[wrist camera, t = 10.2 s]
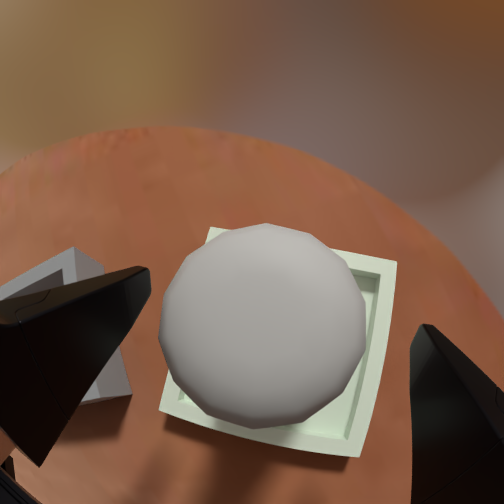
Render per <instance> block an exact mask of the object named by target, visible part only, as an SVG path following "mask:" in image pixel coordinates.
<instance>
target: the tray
mask: <svg viewBox="0 0 504 504" xmlns="http://www.w3.org/2000/svg"><path fill="white" fill-rule="evenodd" d="M225 231H230V230H227V229H221V228H215V227H210V230H209V233H208V237H207V240H206V243H207V242H209V241H210V240H212V239H213V238H215V237H216V236H218V235H219V234H221V233H222V232H225ZM206 243H205V244H206ZM329 249H330V248H329ZM331 250H332V251H333V252H335V253H336V254H337V255H339V256H340V257H341V258H343V259H344V260H345V261H346V263H347V265H348V267H349V269H350V271H351V273H352V275H353V277H354V279H355V281H356V283H357V285H358V287H359V289H360V291H361V294H362V296H363V298H364V300H365V302H366V350H365V352H364V354H363V356H362V358H361V360H360V362H359V364H358V366H357V368H356V370H355V372H354V374H353V375H352V377H351V379H350V381H349V383H348V385H347V386H346V388H345V390H344V392H343V393H342V394H341V395H340V396H338V397H337V398H336V399H334V400H333V401H332V402H330V403H329V404H328V405H326V406H325V407H324V408H322V409H321V410H319V411H318V412H317V413H315V414H314V415H312V416H311V417H310V418H308V419H307V420H305V421H304V422H302V423H297V424H290V425H284V426H277V427H270V428H262V429H249V428H246V427H243V426H239V425H236V424H233V423H230V422H226V421H223V420H220V419H217V418H214V417H211V416H209V415H206V414H205V413H204V412H203V411H202V410H201V409H200V408H199V407H198V406H197V405H196V404H195V403H194V402H193V401H192V400H191V399H190V398H189V397H188V396H187V395H186V394H185V393H184V392H183V391H182V390H181V389H180V388H179V387H178V386H177V385H176V383H175V382H174V381H173V379H172V376H171V374H170V371H168V375H167V379H166V383H165V386H164V390H163V394H162V399H161V403H160V407H159V410H160V411H162V412H165V413H167V414H170V415H173V416H176V417H178V418H181V419H184V420H187V421H190V422H193V423H196V424H199V425H202V426H205V427H208V428H211V429H214V430H218V431H221V432H225V433H228V434H232V435H235V436H239V437H243V438H247V439H251V440H255V441H259V442H264V443H268V444H273V445H277V446H282V447H287V448H293V449H298V450H304V451H311V452H317V453H324V454H332V455H341V456H351V457H360V453H361V450H362V447H363V444H364V441H365V437H366V434H367V430H368V427H369V423H370V420H371V416H372V412H373V408H374V404H375V400H376V396H377V392H378V387H379V383H380V378H381V373H382V368H383V363H384V358H385V353H386V347H387V341H388V335H389V329H390V322H391V315H392V307H393V299H394V290H395V280H396V268H397V262H396V261H391V260H386V259H381V258H376V257H371V256H366V255H361V254H356V253H351V252H346V251H341V250H335V249H331Z"/></svg>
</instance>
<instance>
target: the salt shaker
mask: <svg viewBox="0 0 504 504" xmlns="http://www.w3.org/2000/svg"><path fill="white" fill-rule="evenodd" d="M158 339H159V342H160V345H161V348H162V351H163V354H164V357H165V360H166V362H167V365H168V368H169V371H170V374H171V376H172V379H173V381H174V382H175V383H176V385H177V386H178V387H179V388H180V389H181V390H182V391H183V392H184V393H185V394H186V395H187V396H188V397H189V398H190V399H191V400H192V401H193V402H194V403H195V404H196V405H197V406H198V407H199V408H200V409H201V410H202V411H203V412H204V413H205V414H206V415H209V416H211V417H214V418H217V419H220V420H223V421H226V422H230V423H233V424H236V425H239V426H243V427H246V428H249V429H262V428H270V427H277V426H284V425H290V424H297V423H302V422H304V421H305V420H307V419H308V418H310V417H311V416H312V415H314V414H315V413H317V412H318V411H319V410H321V409H322V408H324V407H325V406H326V405H328V404H329V403H330V402H332V401H333V400H334V399H336V398H337V397H338V396H340V395H341V394H342V393H343V392H344V390H345V388H346V386H347V385H348V383H349V381H350V379H351V377H352V375H353V374H354V372H355V370H356V368H357V366H358V364H359V362H360V360H361V358H362V356H363V354H364V352H365V350H366V302H365V300H364V298H363V296H362V294H361V291H360V289H359V287H358V285H357V283H356V281H355V279H354V277H353V275H352V273H351V271H350V269H349V267H348V265H347V263H346V261H345V260H344V259H343V258H341V257H340V256H339V255H337V254H336V253H335V252H333V251H332V250H331V249H329V248H328V247H327V246H326V245H324V244H323V243H322V242H320V241H319V240H318V239H316V238H315V237H313V236H312V235H311V234H309V233H305V232H301V231H297V230H293V229H289V228H285V227H280V226H276V225H272V224H268V223H265V224H260V225H255V226H250V227H245V228H240V229H235V230H230V231H225V232H222V233H221V234H219V235H218V236H216V237H215V238H213V239H212V240H210V241H209V242H207V243H206V244H204V245H203V246H201V247H200V248H198V249H197V250H195V251H194V252H193V253H191V254H190V255H188V256H187V257H186V258H185V260H184V262H183V263H182V265H181V267H180V268H179V270H178V272H177V273H176V275H175V277H174V278H173V280H172V282H171V283H170V285H169V287H168V288H167V290H166V292H165V293H164V298H163V305H162V312H161V320H160V328H159V336H158Z"/></svg>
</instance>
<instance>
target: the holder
mask: <svg viewBox="0 0 504 504" xmlns="http://www.w3.org/2000/svg"><path fill="white" fill-rule="evenodd" d="M104 274H105V273H104V266H103V265H102V264H100V263H98V262H97V261H95V260H94V259H92V258H91V257H89V256H87V255H86V254H84V253H83V252H81V251H80V250H78V249H77V248H75V247H72V248H70V249H68V250H66V251H64V252H62V253H60V254H58V255H56V256H54V257H52V258H51V259H49V260H47V261H45V262H43V263H41V264H39V265H38V266H36V267H34V268H32V269H30V270H29V271H27V272H25V273H23V274H21V275H20V276H18V277H16V278H14V279H13V280H11V281H9V282H8V283H6V284H4V285H2V286H1V287H0V300H5V299H10V298H15V297H19V296H24V295H28V294H32V293H36V292H40V291H44V290H47V289H52V288H55V287H59V286H62V285H66V284H70V283H74V282H77V281H81V280H85V279H89V278H92V277H96V276H100V275H104ZM131 394H132V391H131V388H130V384H129V381H128V378H127V374H126V370H125V367H124V363H123V359H122V356H121V352H120V348H119V346H118V348H117V349H116V351H115V352H114V354H113V355H112V356H111V358H110V359H109V361H108V362H107V364H106V365H105V367H104V368H103V369H102V371H101V372H100V374H99V375H98V377H97V378H96V380H95V381H94V383H93V384H92V386H91V387H90V389H89V390H88V392H87V393H86V395H85V396H84V398H83V399H82V401H81V402H80V404H79V405H78V406H80V405H85V404H90V403H95V402H100V401H105V400H109V399H114V398H118V397H123V396H127V395H131Z"/></svg>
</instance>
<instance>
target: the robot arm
mask: <svg viewBox="0 0 504 504" xmlns="http://www.w3.org/2000/svg"><path fill="white" fill-rule="evenodd" d="M150 294H151V279H150V271H149V269H148V268H146V267H142V266H134V267H130V268H127V269H123V270H119V271H115V272H111V273H107V274H104V275H100V276H96V277H92V278H89V279H85V280H81V281H77V282H74V283H70V284H66V285H62V286H59V287H55V288H52V289H47V290H44V291H40V292H36V293H32V294H28V295H24V296H19V297H15V298H10V299H5V300H0V504H42V503H41V502H39V501H38V500H37V499H36V498H34V497H33V496H32V495H31V494H30V493H29V492H27V491H26V490H25V489H24V488H23V487H22V486H21V485H20V484H18V483H17V482H16V480H15V472H14V464H13V458H12V457H11V456H10V454H11V452H12V451H13V450H14V449H15V448H17V449H18V450H19V451H20V452H21V453H22V454H23V455H24V456H26V457H27V458H28V459H29V460H30V461H31V462H33V463H34V464H35V465H36V466H38V467H40V466H41V465H42V464H43V462H44V460H45V459H46V457H47V455H48V454H49V452H50V450H51V449H52V447H53V445H54V444H55V442H56V440H57V439H58V437H59V436H60V434H61V432H62V431H63V429H64V428H65V426H66V424H67V423H68V420H69V419H70V418H71V416H72V415H73V413H74V412H75V410H76V408H77V407H78V405H79V404H80V402H81V401H82V399H83V398H84V396H85V395H86V393H87V392H88V390H89V389H90V387H91V386H92V384H93V383H94V381H95V380H96V378H97V377H98V375H99V374H100V372H101V371H102V369H103V368H104V367H105V365H106V364H107V362H108V361H109V359H110V358H111V356H112V355H113V354H114V352H115V351H116V349H117V348H118V346H119V345H120V344H121V342H122V341H123V339H124V338H125V337H126V335H127V334H128V332H129V331H130V329H131V328H132V326H133V325H134V323H135V321H136V319H137V318H138V316H139V314H140V312H141V310H142V309H143V307H144V305H145V304H146V302H147V300H148V298H149V297H150ZM410 404H411V421H412V490H411V504H504V392H503V391H502V390H501V389H500V388H499V387H497V385H496V384H495V383H494V382H493V381H492V380H491V379H490V378H489V377H488V376H487V375H486V374H485V373H484V372H483V371H482V370H481V369H480V368H479V367H478V366H477V365H475V364H474V363H473V362H472V361H471V360H470V359H469V358H468V357H467V356H466V355H465V354H464V353H463V352H462V351H461V350H460V349H459V348H458V347H456V346H455V345H454V344H453V343H452V342H451V341H450V340H449V339H448V338H447V337H446V336H444V335H443V334H442V333H441V332H440V331H439V330H438V329H437V328H436V327H434V326H433V325H430V324H421V325H420V326H419V328H418V330H417V332H416V335H415V337H414V339H413V341H412V343H411V346H410Z"/></svg>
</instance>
